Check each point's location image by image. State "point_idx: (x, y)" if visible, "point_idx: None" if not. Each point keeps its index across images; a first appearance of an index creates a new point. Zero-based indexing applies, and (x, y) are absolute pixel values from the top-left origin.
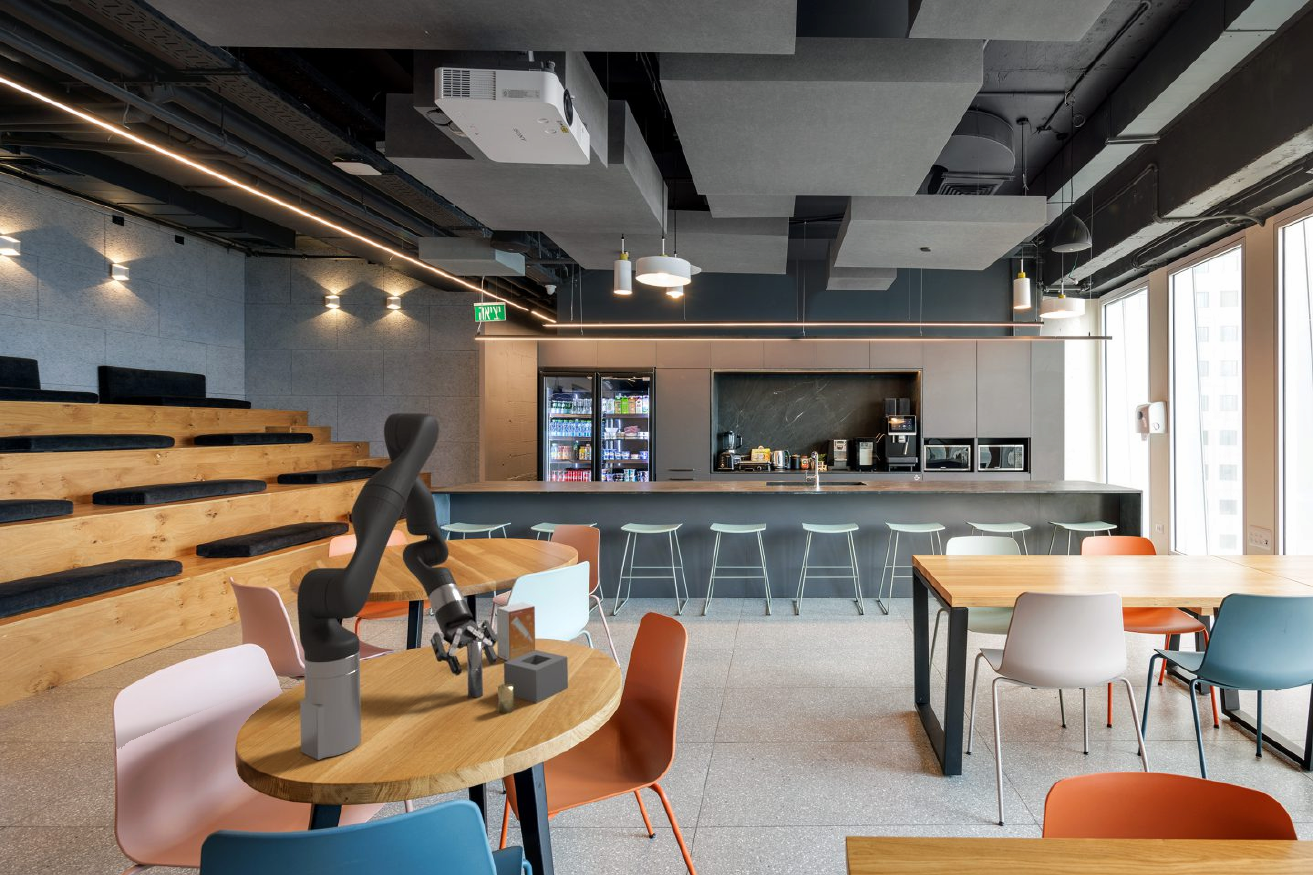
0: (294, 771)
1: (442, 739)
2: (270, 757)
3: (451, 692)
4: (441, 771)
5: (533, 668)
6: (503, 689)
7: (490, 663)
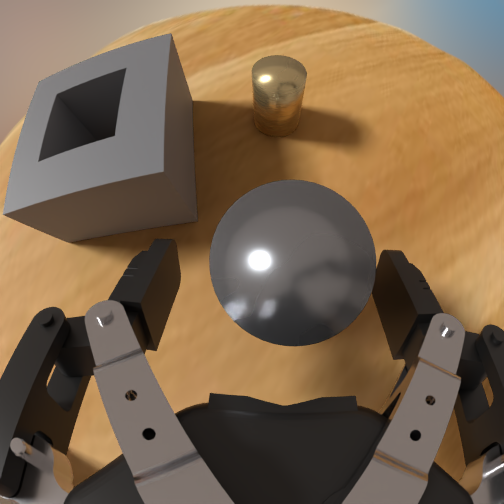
0: None
1: (450, 127)
2: None
3: (310, 392)
4: (461, 64)
5: (159, 49)
6: (299, 62)
7: (178, 278)
